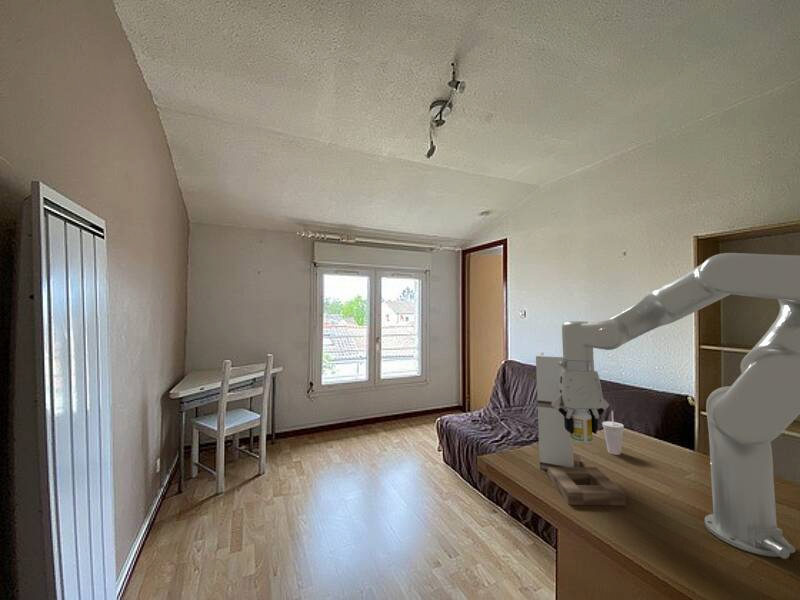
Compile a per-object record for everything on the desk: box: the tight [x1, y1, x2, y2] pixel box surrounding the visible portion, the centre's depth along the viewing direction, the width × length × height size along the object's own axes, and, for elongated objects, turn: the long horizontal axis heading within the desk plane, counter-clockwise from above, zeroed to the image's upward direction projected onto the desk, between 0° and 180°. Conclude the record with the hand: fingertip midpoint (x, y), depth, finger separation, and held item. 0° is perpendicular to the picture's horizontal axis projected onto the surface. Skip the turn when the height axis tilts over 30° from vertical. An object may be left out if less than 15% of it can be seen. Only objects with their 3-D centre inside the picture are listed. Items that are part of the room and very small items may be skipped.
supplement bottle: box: [570, 409, 593, 445], centre depth 91 cm, size 5×5×10 cm
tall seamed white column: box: [535, 351, 581, 471], centre depth 107 cm, size 11×11×35 cm
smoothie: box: [601, 410, 625, 456], centre depth 114 cm, size 6×6×14 cm
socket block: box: [546, 466, 627, 506], centre depth 91 cm, size 14×14×3 cm
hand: (581, 431), depth 91 cm, fingers closed on supplement bottle, 5 cm apart
